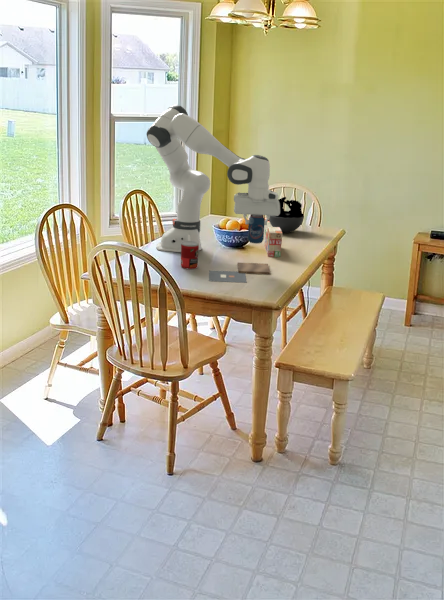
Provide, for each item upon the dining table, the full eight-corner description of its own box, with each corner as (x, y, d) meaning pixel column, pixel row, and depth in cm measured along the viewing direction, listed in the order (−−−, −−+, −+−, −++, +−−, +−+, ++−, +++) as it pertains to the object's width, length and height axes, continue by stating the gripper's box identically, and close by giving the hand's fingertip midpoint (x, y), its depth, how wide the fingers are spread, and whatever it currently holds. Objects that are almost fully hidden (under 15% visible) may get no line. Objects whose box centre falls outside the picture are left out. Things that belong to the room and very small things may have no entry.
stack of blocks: (264, 246, 351) (265, 222, 347) (276, 246, 351) (278, 223, 347) (267, 256, 331) (269, 232, 327) (280, 257, 331) (282, 232, 327)
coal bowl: (299, 237, 372) (301, 203, 366) (263, 234, 377) (265, 200, 371) (305, 230, 390) (308, 197, 384) (271, 226, 395) (273, 194, 389)
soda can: (249, 244, 300) (250, 217, 296) (246, 239, 306) (247, 213, 302) (264, 243, 301) (266, 217, 297) (261, 239, 307) (262, 213, 303)
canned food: (191, 270, 302) (192, 246, 299) (177, 266, 306) (177, 243, 302) (201, 266, 308) (202, 242, 305) (186, 263, 312) (187, 240, 309)
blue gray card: (208, 281, 287) (208, 280, 287) (209, 270, 303) (209, 270, 303) (246, 282, 288) (246, 282, 288) (245, 272, 303) (245, 271, 303)
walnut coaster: (238, 273, 301) (238, 270, 301) (237, 264, 314) (237, 262, 314) (270, 274, 301) (270, 272, 301) (267, 265, 315) (267, 263, 314)
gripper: (234, 193, 294) (232, 225, 298) (281, 195, 294) (279, 227, 299) (234, 191, 300) (232, 222, 304) (280, 193, 300) (278, 224, 305)
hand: (256, 224), depth 301 cm, fingers closed on soda can, 7 cm apart
